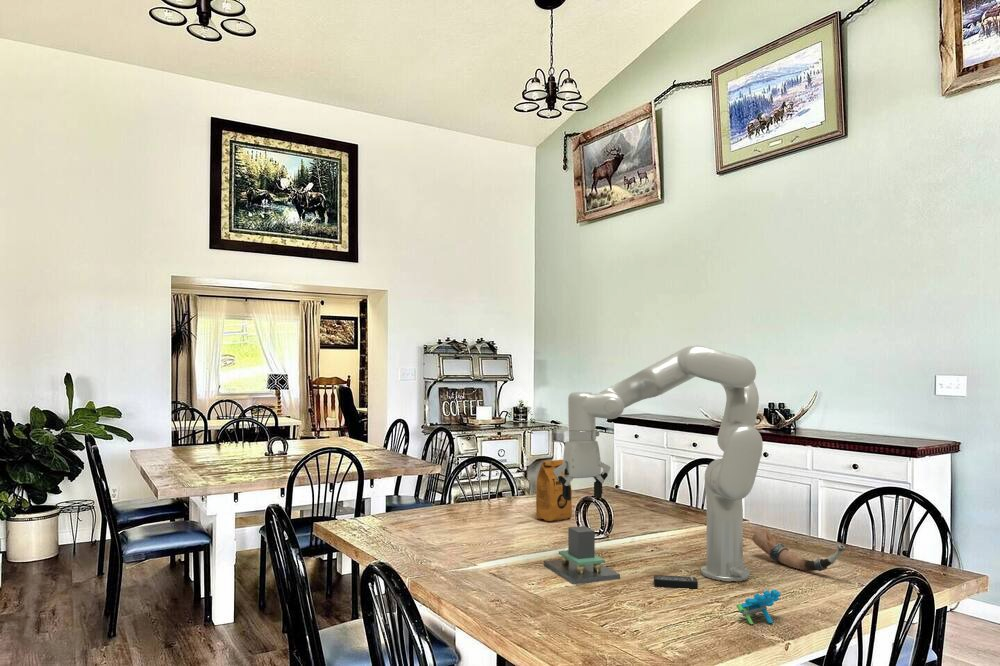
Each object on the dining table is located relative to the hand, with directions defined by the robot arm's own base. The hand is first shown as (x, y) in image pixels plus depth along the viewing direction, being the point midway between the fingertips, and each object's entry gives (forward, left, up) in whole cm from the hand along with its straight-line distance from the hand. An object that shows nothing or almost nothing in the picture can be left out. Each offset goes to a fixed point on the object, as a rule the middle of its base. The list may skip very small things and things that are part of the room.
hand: (582, 498), depth 192 cm
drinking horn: (-18, -60, -21) cm, 66 cm away
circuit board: (0, 0, -17) cm, 17 cm away
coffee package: (+61, -22, -20) cm, 68 cm away
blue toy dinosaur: (-45, -20, -21) cm, 54 cm away
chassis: (0, 0, -20) cm, 20 cm away
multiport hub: (-19, -17, -21) cm, 33 cm away
